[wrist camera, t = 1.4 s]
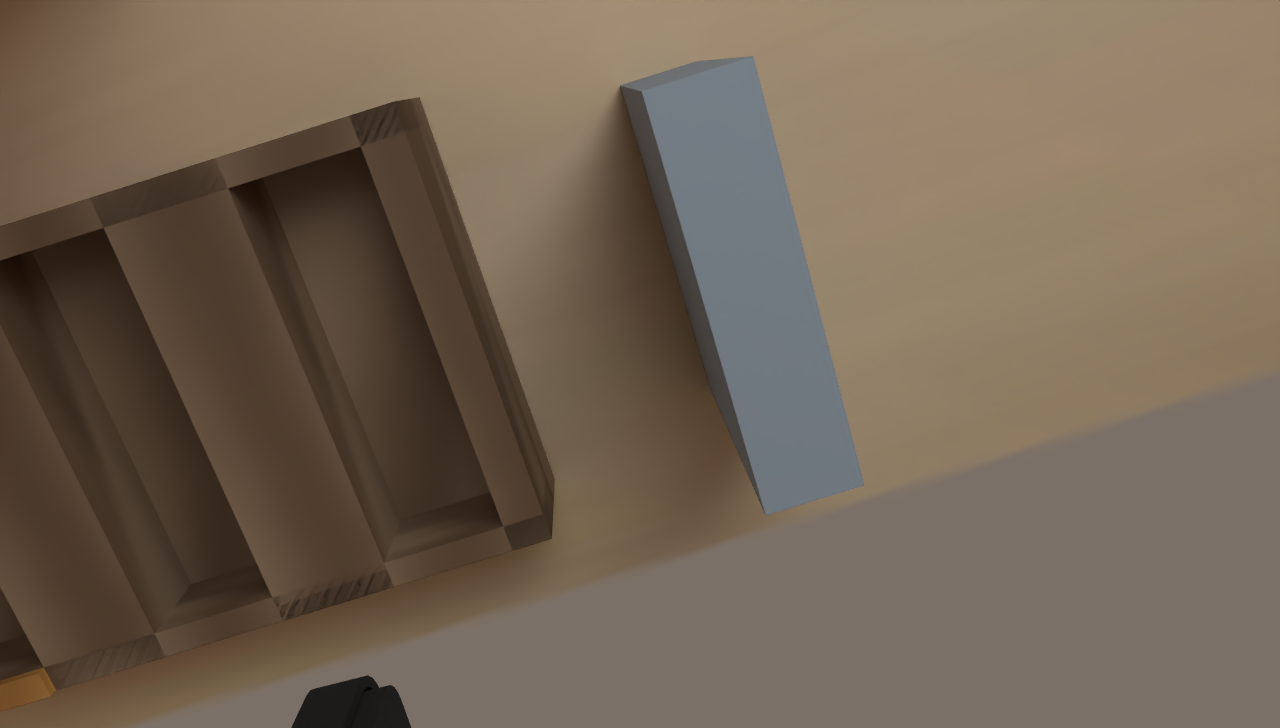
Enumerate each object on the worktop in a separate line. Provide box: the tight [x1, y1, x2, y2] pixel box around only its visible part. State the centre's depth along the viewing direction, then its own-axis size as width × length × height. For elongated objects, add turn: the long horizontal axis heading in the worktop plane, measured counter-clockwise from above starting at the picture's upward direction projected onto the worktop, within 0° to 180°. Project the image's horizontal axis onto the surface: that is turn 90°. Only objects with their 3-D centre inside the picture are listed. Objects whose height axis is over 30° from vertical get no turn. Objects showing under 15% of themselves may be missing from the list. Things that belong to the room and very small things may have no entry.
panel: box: [620, 56, 864, 515], centre depth 27 cm, size 2×10×10 cm, turn 17°
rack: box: [0, 98, 554, 712], centre depth 30 cm, size 20×13×5 cm, turn 107°
